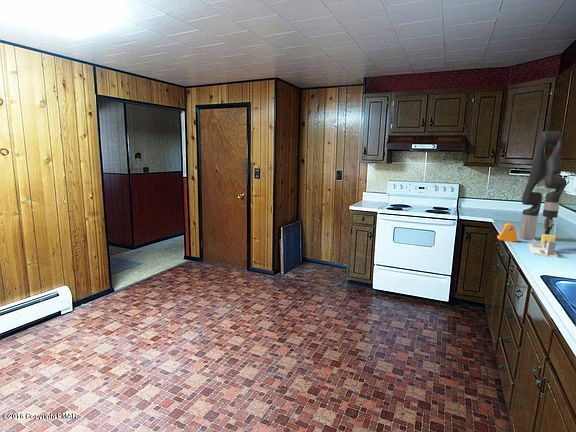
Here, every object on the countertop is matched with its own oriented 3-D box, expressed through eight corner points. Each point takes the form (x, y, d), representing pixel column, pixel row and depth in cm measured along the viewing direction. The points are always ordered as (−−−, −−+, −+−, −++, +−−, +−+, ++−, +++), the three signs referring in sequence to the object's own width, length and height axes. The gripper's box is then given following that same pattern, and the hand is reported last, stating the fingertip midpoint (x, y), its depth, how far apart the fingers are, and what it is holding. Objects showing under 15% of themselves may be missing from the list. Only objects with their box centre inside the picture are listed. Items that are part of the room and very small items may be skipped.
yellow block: (540, 243, 217) (542, 233, 216) (552, 244, 214) (554, 235, 213) (541, 245, 212) (543, 235, 211) (553, 246, 210) (555, 236, 209)
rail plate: (527, 245, 227) (529, 232, 225) (549, 247, 222) (551, 235, 220) (532, 254, 206) (534, 240, 205) (557, 257, 201) (560, 243, 199)
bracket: (514, 240, 240) (516, 223, 238) (517, 242, 234) (520, 225, 231) (496, 238, 244) (498, 222, 241) (499, 241, 237) (501, 223, 235)
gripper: (560, 211, 207) (556, 239, 210) (556, 208, 219) (551, 235, 222) (545, 210, 211) (541, 237, 214) (541, 207, 222) (537, 233, 225)
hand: (546, 236), depth 218 cm, fingers closed
